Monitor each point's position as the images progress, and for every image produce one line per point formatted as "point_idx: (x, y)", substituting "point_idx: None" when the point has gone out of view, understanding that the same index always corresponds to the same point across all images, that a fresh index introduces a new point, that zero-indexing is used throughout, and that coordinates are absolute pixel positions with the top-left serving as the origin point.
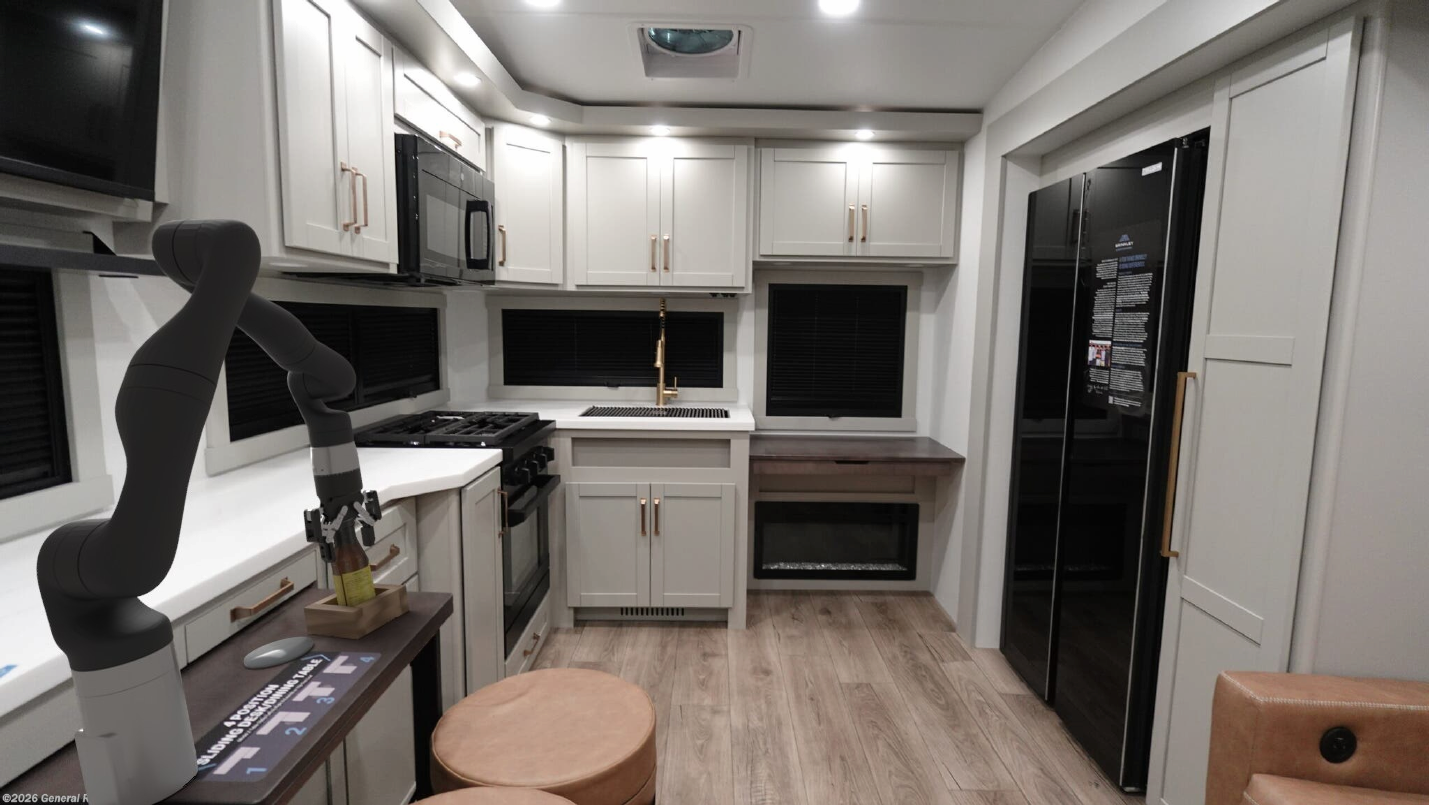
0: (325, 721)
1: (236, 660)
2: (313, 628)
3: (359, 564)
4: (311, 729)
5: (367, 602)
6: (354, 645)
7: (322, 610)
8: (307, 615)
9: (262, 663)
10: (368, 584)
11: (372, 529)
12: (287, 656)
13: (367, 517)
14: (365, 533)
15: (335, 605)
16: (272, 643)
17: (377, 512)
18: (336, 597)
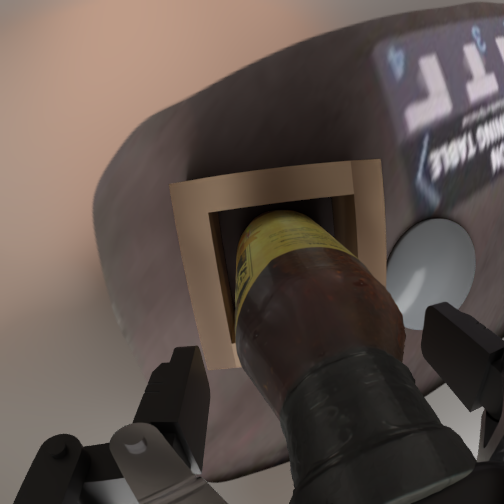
0: (490, 8)
1: None
2: None
3: (324, 259)
4: (501, 15)
5: (317, 181)
6: (372, 140)
7: (384, 279)
8: None
9: (470, 251)
10: (283, 230)
11: (147, 414)
12: (449, 230)
13: (172, 491)
14: (196, 420)
15: None
16: (415, 323)
17: (53, 484)
18: None
